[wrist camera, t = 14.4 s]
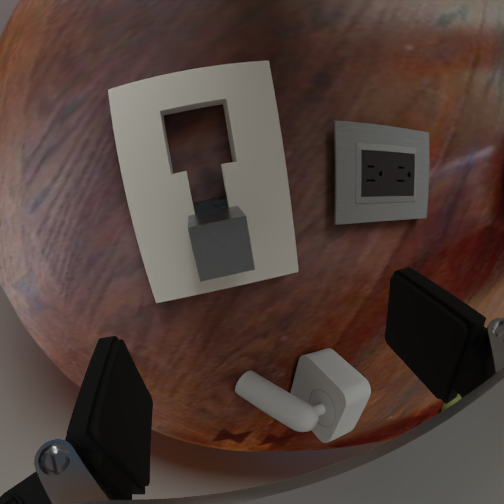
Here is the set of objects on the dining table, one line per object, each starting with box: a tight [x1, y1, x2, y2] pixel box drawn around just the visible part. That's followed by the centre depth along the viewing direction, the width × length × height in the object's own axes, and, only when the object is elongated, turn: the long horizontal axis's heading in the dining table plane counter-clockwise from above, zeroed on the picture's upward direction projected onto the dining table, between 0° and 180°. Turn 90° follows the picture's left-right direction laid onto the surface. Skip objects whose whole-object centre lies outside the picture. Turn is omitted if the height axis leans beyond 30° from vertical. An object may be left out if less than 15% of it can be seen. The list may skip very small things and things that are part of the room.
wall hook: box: [235, 348, 371, 443], centre depth 32 cm, size 9×12×12 cm
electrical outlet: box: [333, 121, 429, 225], centre depth 29 cm, size 13×10×2 cm
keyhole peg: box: [188, 196, 255, 282], centre depth 24 cm, size 4×4×9 cm
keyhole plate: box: [108, 60, 299, 303], centre depth 25 cm, size 20×14×3 cm
